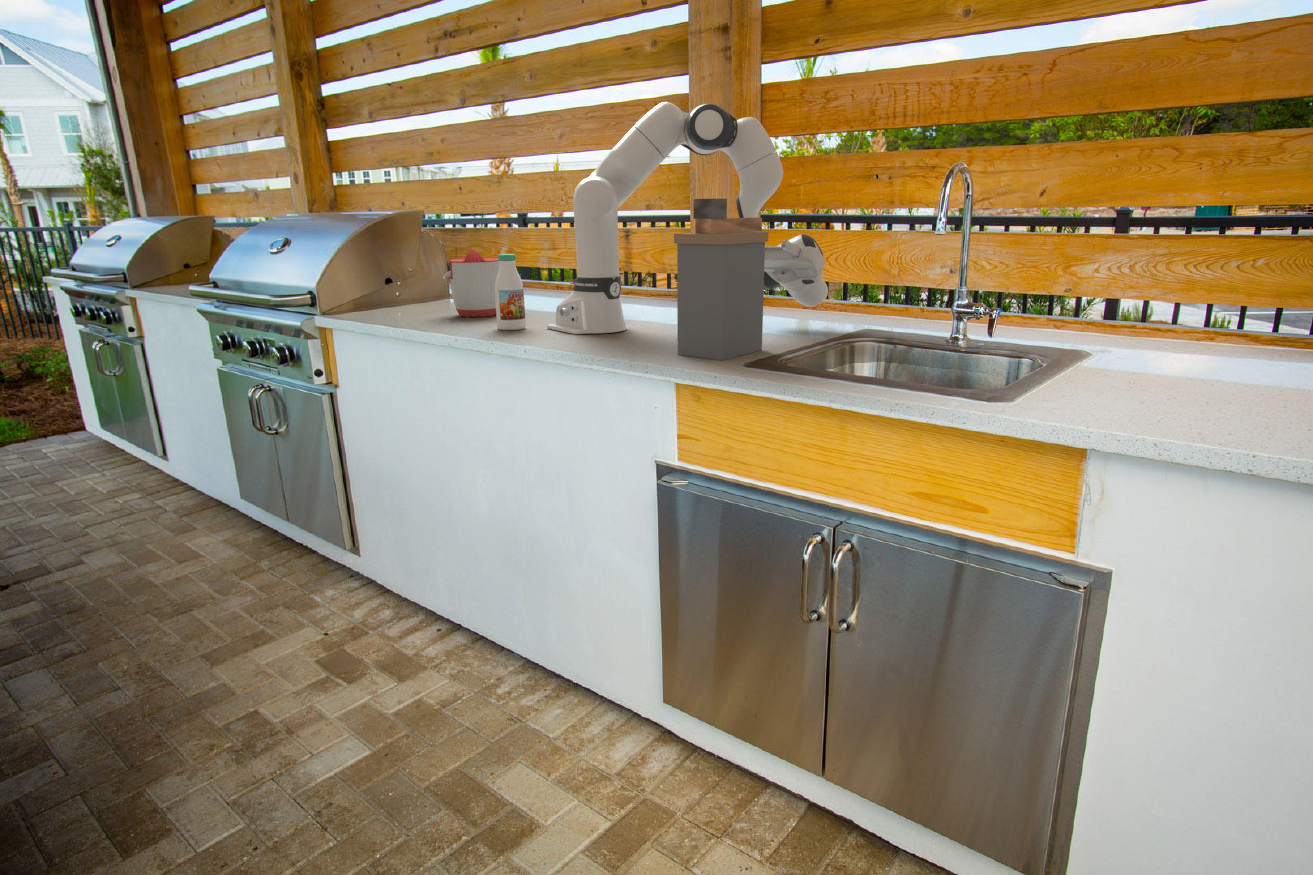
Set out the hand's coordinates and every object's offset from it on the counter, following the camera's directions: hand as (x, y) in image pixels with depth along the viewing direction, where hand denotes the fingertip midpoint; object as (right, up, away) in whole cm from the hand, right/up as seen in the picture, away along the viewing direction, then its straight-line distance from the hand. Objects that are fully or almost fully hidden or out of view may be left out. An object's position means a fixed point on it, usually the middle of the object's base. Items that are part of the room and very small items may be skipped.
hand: (766, 243), depth 179 cm
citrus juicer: (-82, -8, +59) cm, 101 cm away
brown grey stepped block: (-10, -1, -12) cm, 16 cm away
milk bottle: (-66, -16, +31) cm, 74 cm away
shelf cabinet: (-12, -26, -7) cm, 30 cm away
